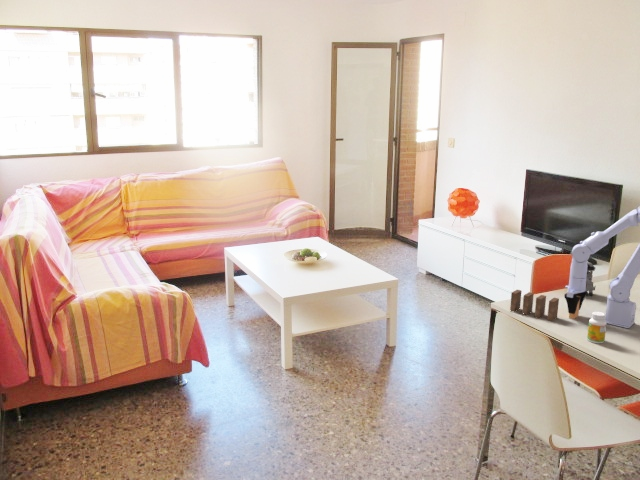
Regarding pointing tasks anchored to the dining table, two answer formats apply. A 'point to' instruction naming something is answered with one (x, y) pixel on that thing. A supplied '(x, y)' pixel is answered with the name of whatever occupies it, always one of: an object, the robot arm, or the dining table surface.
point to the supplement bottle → (597, 328)
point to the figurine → (590, 278)
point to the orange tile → (575, 312)
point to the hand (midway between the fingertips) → (574, 311)
